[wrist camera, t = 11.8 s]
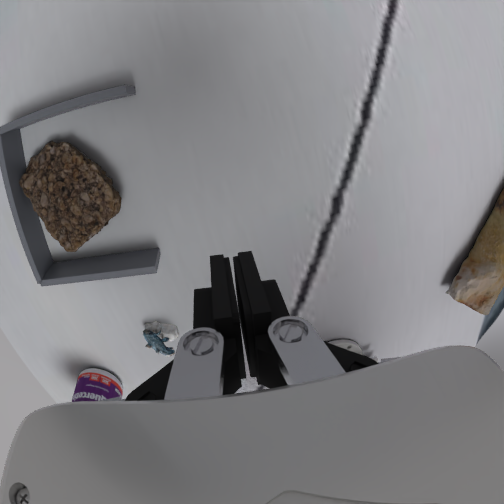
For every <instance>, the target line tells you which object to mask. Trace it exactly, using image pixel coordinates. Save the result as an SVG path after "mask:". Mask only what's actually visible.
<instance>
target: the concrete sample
mask: <svg viewBox="0 0 504 504" xmlns="http://www.w3.org/2000/svg"><path fill="white" fill-rule="evenodd" d="M19 184H20V187H21V188H22V189H23V192H24V194H25V195H26V196H27V197H28V198H29V199H30V201H31V202H32V205H33V209H34V211H35V212H37V214H38V216H39V217H41V219H42V221H43V222H44V223H45V226H46V229H47V231H48V232H49V233H50V234H51V236H52V237H53V238H54V239H56V240H58V241H59V243H60V245H61V246H63V247H64V249H65V250H66V251H67V252H76V251H77V250H78V249H79V248H80V247H82V245H83V244H84V243H85V242H86V241H88V240H89V239H90V238H92V237H93V236H94V235H95V234H98V232H99V231H101V229H102V228H103V226H106V225H107V224H108V221H109V220H110V219H111V218H113V217H114V216H116V214H118V213H119V211H120V208H121V197H120V195H119V192H118V191H116V190H115V189H114V187H113V186H112V184H113V182H112V179H110V178H109V177H107V176H106V172H105V171H104V170H102V169H101V167H100V166H99V165H98V164H97V163H95V162H92V161H91V160H90V159H88V158H87V157H86V156H85V155H84V154H83V153H82V152H81V151H79V150H78V149H77V148H75V147H74V146H72V145H71V144H70V143H67V142H60V143H58V144H57V143H55V142H53V141H52V142H50V143H47V144H46V146H45V147H44V148H43V149H42V150H41V151H40V153H39V154H38V155H36V156H33V157H32V158H31V160H30V161H29V165H28V167H27V168H26V173H24V174H23V175H22V176H21V179H20V181H19Z"/></svg>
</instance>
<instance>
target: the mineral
mask: <svg viewBox="0 0 504 504" xmlns="http://www.w3.org/2000/svg"><path fill="white" fill-rule="evenodd" d="M503 286H504V188H503V190H502V192H501V193H500V195H499V198H498V200H497V202H496V203H495V207H494V210H493V211H492V213H491V215H490V216H489V218H488V220H487V221H486V224H485V226H484V227H483V228H482V230H481V232H480V234H479V236H478V237H477V240H476V242H475V245H474V247H473V248H472V249H471V250H470V253H469V256H468V258H467V259H466V260H464V261H463V263H462V265H461V268H460V271H459V273H458V274H457V275H456V276H455V278H454V280H453V282H452V285H451V286H450V288H449V290H448V291H447V292H446V293H447V294H450V295H451V296H452V298H453V299H454V300H456V301H458V302H460V303H463V304H465V305H466V306H468V307H470V308H472V309H473V310H475V311H477V312H479V313H481V314H484V315H488V314H489V312H490V309H491V307H492V306H493V304H494V303H495V300H497V297H498V295H499V293H500V291H501V290H502V289H503Z"/></svg>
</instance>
